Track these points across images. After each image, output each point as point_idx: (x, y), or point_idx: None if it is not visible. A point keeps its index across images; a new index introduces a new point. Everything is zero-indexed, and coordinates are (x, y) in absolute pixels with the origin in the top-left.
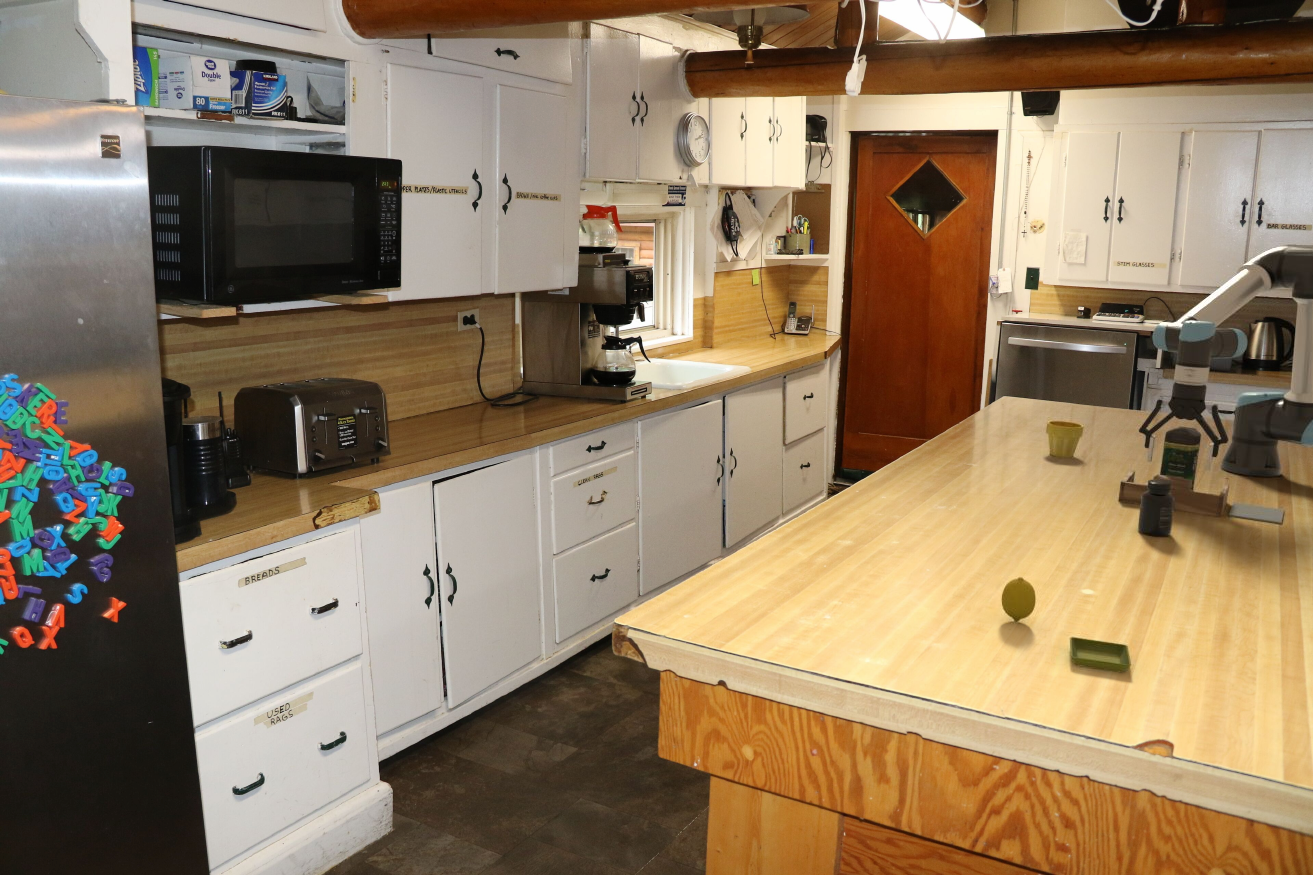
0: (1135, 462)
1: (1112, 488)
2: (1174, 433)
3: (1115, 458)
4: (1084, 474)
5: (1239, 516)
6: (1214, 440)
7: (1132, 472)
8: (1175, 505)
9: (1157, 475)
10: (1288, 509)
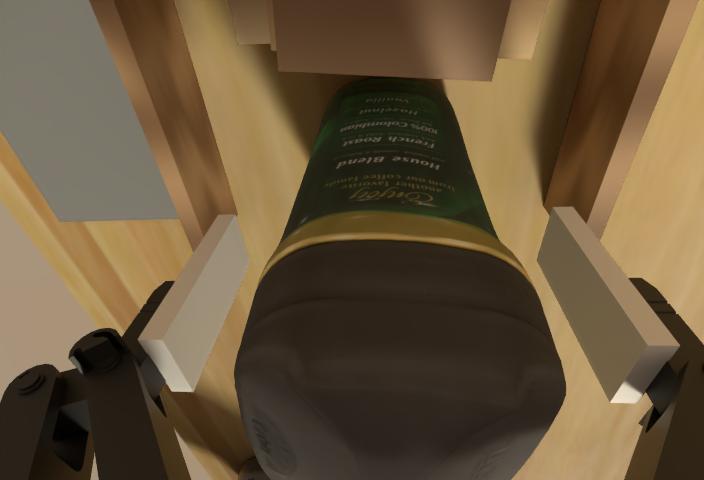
0: None
1: (633, 162)
2: (479, 352)
3: (558, 460)
4: (701, 301)
5: None
6: (113, 378)
7: (596, 209)
8: None
9: (492, 45)
10: (71, 247)
